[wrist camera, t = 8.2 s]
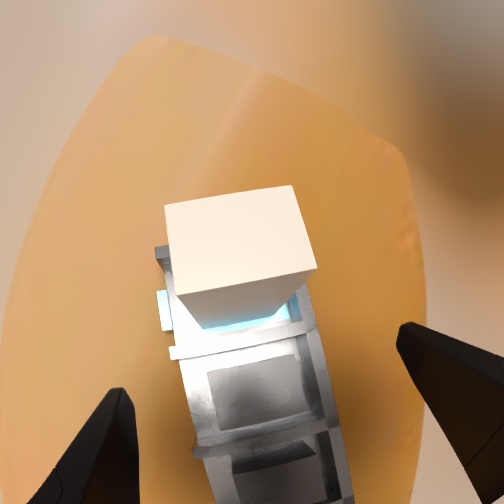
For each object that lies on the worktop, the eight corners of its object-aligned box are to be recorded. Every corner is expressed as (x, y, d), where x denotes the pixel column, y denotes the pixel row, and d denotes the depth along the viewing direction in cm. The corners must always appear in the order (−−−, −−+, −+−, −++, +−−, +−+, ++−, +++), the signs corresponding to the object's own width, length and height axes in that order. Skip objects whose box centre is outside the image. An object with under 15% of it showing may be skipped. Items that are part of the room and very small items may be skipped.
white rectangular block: (273, 315, 21) (317, 268, 11) (202, 330, 20) (176, 295, 10) (262, 269, 22) (291, 185, 12) (193, 281, 21) (164, 205, 11)
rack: (335, 484, 17) (360, 508, 13) (212, 513, 16) (209, 545, 11) (279, 246, 24) (292, 217, 19) (157, 268, 23) (140, 243, 18)
